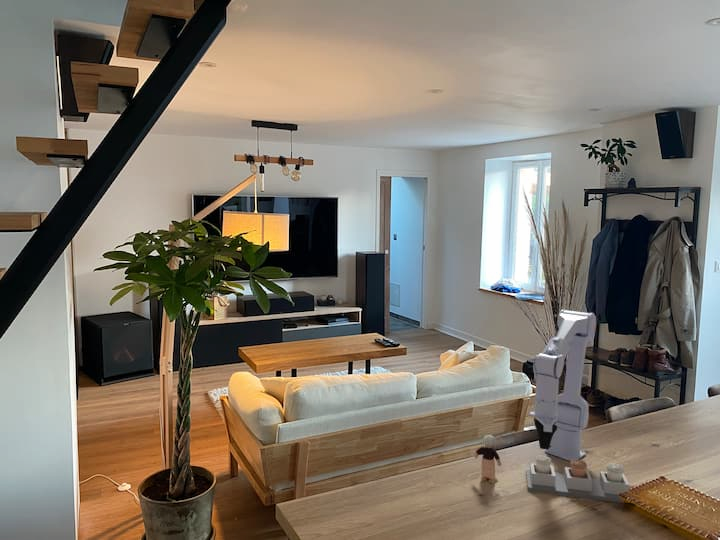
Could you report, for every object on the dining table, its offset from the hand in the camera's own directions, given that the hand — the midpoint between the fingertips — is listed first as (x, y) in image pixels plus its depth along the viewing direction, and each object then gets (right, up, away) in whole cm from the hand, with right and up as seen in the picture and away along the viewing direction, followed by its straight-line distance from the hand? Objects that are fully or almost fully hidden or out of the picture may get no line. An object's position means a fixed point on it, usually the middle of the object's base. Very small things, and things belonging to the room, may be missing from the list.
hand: (543, 447), depth 146 cm
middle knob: (+9, -7, -1) cm, 11 cm away
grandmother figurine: (-15, -10, +3) cm, 18 cm away
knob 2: (+17, -8, -3) cm, 19 cm away
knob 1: (0, -7, +1) cm, 7 cm away
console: (+9, -11, -1) cm, 14 cm away
